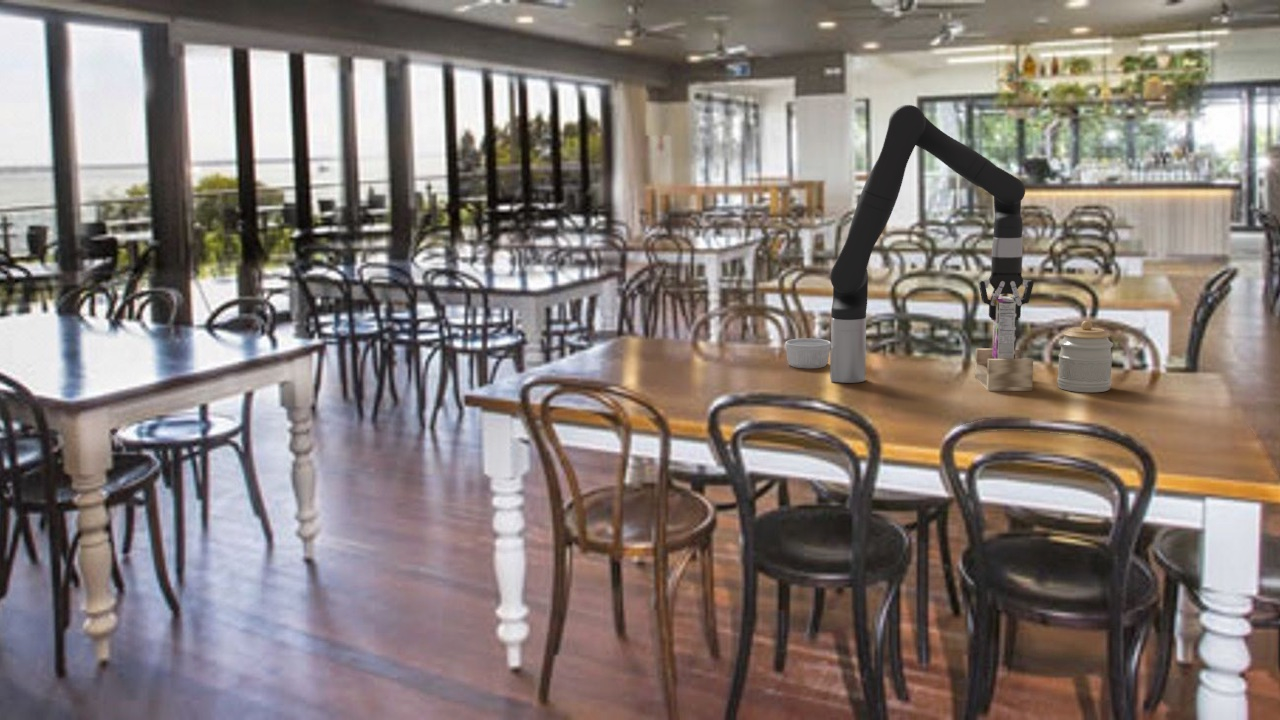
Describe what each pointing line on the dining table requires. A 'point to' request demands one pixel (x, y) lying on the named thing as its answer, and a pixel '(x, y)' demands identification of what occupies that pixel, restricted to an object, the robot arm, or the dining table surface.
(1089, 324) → the jar
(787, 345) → the ramekin
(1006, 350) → the candy bar box
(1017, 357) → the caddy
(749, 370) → the dining table surface
